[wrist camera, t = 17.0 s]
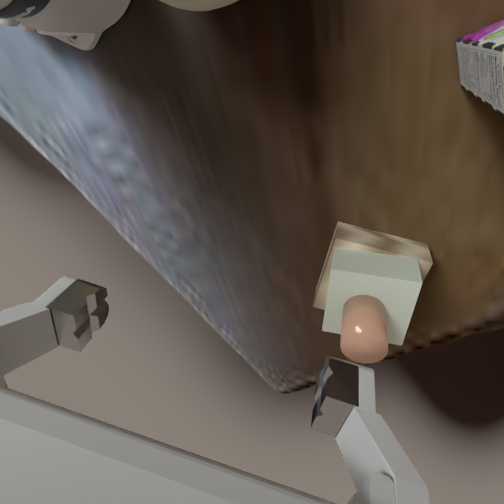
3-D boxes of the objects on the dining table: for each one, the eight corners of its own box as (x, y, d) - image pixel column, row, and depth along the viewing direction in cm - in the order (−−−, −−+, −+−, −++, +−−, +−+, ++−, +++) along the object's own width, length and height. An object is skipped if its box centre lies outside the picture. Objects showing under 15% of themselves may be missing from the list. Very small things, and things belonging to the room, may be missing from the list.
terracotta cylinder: (338, 319, 45) (335, 355, 41) (349, 290, 43) (347, 325, 38) (377, 330, 45) (379, 368, 40) (391, 301, 42) (395, 338, 37)
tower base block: (316, 285, 56) (312, 306, 52) (338, 220, 49) (335, 237, 45) (393, 307, 54) (396, 330, 50) (427, 242, 48) (433, 263, 43)
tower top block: (325, 306, 51) (321, 330, 47) (334, 247, 46) (331, 269, 42) (398, 318, 49) (401, 345, 45) (417, 258, 44) (422, 283, 40)
